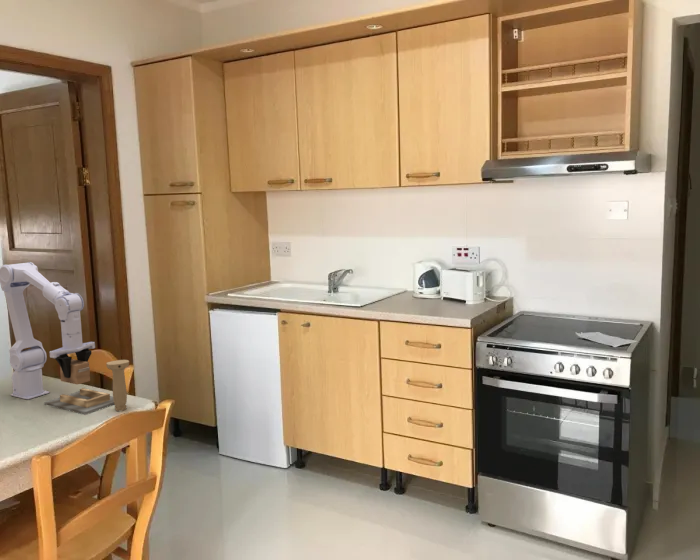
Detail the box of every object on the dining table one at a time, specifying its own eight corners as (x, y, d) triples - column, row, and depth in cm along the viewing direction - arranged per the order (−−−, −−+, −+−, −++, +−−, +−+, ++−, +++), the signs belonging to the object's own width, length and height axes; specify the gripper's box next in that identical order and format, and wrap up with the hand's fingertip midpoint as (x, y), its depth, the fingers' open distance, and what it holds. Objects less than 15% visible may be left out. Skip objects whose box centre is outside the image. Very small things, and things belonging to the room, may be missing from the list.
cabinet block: (61, 381, 193) (59, 362, 193) (73, 377, 197) (72, 359, 197) (79, 384, 189) (77, 365, 188) (91, 381, 193) (90, 362, 192)
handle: (108, 409, 189) (105, 362, 187) (129, 405, 192) (127, 359, 190) (111, 414, 185) (108, 365, 183) (133, 410, 188) (130, 362, 186)
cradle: (44, 404, 195) (43, 395, 194) (83, 392, 207) (82, 384, 206) (85, 414, 185) (84, 405, 184) (123, 401, 197) (122, 392, 196)
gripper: (58, 338, 183) (61, 382, 185) (100, 329, 196) (102, 371, 197) (44, 336, 187) (47, 379, 189) (85, 327, 199) (88, 368, 201)
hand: (74, 375), depth 193 cm, fingers closed on cabinet block, 5 cm apart
